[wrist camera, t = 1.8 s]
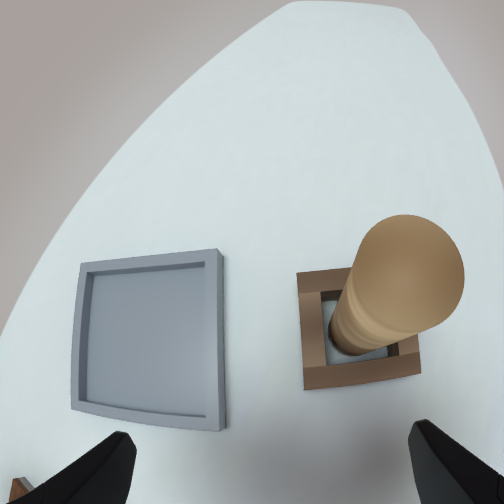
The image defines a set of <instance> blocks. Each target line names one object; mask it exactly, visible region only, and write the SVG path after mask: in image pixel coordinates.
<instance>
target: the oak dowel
mask: <svg viewBox="0 0 504 504" xmlns="http://www.w3.org/2000/svg"><path fill="white" fill-rule="evenodd" d="M463 288H464V267H463V262H462V259H461V255H460V253H459V251H458V249H457V247H456V245H455V243H454V242H453V240H452V239H451V238H450V236H449V235H448V234H447V233H446V232H445V231H444V230H443V229H442V228H440V227H439V226H438V225H436V224H435V223H433V222H431V221H429V220H427V219H425V218H422V217H419V216H414V215H397V216H392V217H389V218H386V219H384V220H382V221H380V222H379V223H377V224H376V225H375V226H373V227H372V228H371V229H370V230H369V232H368V233H367V234H366V235H365V237H364V238H363V240H362V242H361V244H360V247H359V250H358V252H357V255H356V258H355V260H354V263H353V266H352V268H351V271H350V273H349V276H348V278H347V281H346V283H345V286H344V288H343V291H342V293H341V296H340V298H339V301H338V303H337V305H336V308H335V310H334V313H333V315H332V317H331V320H330V322H329V326H328V337H329V340H330V342H331V344H332V346H333V347H334V348H335V349H336V350H337V351H338V352H340V353H341V354H344V355H347V356H359V355H362V354H365V353H368V352H371V351H374V350H376V349H379V348H382V347H385V346H387V345H390V344H393V343H395V342H398V341H400V340H403V339H405V338H408V337H410V336H413V335H415V334H418V333H420V332H422V331H425V330H427V329H429V328H432V327H434V326H436V325H438V324H440V323H441V322H443V321H444V320H446V319H447V318H448V317H449V316H450V315H451V314H452V312H453V311H454V310H455V308H456V307H457V305H458V303H459V301H460V299H461V296H462V293H463Z"/></svg>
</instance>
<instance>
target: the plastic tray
mask: <svg viewBox="0 0 504 504" xmlns="http://www.w3.org/2000/svg"><path fill="white" fill-rule="evenodd" d="M71 409H73V410H77V411H81V412H85V413H89V414H93V415H98V416H102V417H107V418H112V419H117V420H122V421H128V422H134V423H140V424H147V425H154V426H162V427H170V428H179V429H190V430H204V431H221V430H223V429H224V428H226V415H225V382H224V333H223V256H222V254H221V253H220V252H219V250H218V249H217V248H216V249H206V250H197V251H187V252H178V253H168V254H159V255H150V256H141V257H131V258H122V259H113V260H104V261H95V262H86V263H81V266H80V272H79V279H78V286H77V294H76V303H75V312H74V323H73V335H72V353H71Z"/></svg>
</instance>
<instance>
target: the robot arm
mask: <svg viewBox="0 0 504 504" xmlns="http://www.w3.org/2000/svg"><path fill="white" fill-rule="evenodd" d="M408 445H409V450H410V456H411V461H412V467H413V473H414V479H415V483H416V487H417V490H418V494H419V497H420V501H421V504H504V477H503V476H502V475H501V474H499V473H498V472H496V471H495V470H494V469H492V468H491V467H490V466H488V465H487V464H485V463H484V462H483V461H481V460H480V459H479V458H477V457H476V456H475V455H473V454H472V453H471V452H469V451H468V450H467V449H465V448H464V447H463V446H461V445H460V444H459V443H458V442H456V441H455V440H454V439H452V438H451V437H450V436H448V435H447V434H446V433H444V432H443V431H442V430H441V429H439V428H438V427H437V426H435V425H434V424H433V423H431V422H430V421H429V420H427V419H423V420H419V421H416V422H415V423H414V424H413V426H412V429H411V432H410V434H409V437H408ZM136 454H137V449H136V446H135V444H134V443H133V441H132V439H131V437H130V436H129V434H128V433H126V432H120V431H116V432H114V433H113V434H111V435H110V436H109V437H107V438H106V439H105V440H103V441H102V442H100V443H99V444H98V445H96V446H95V447H94V448H92V449H91V450H90V451H88V452H87V453H86V454H84V455H83V456H81V457H80V458H79V459H77V460H76V461H74V462H73V463H72V464H70V465H69V466H67V467H66V468H64V469H63V470H62V471H60V472H59V473H57V474H56V475H54V476H53V477H51V478H50V479H49V480H47V481H46V482H45V483H42V484H41V485H39V486H38V487H36V488H35V489H33V490H32V491H30V492H28V493H27V494H25V495H23V496H21V497H19V498H17V499H15V500H13V501H11V502H9V503H7V504H125V503H126V500H127V497H128V494H129V490H130V486H131V481H132V475H133V470H134V464H135V459H136Z"/></svg>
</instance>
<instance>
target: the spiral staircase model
mask: <svg viewBox="0 0 504 504" xmlns="http://www.w3.org/2000/svg"><path fill="white" fill-rule="evenodd" d="M33 489H35V488H34V487H33V486H32V485H31V484H30V483H29V482H28V480H27V479H26V478H25V477H22V478H15V479H13V481H12V486H11V492H10V498H9V502H11V501H13V500H15V499H17V498H19V497H21V496H23V495H25V494H27V493H28V492H30V491H32V490H33Z"/></svg>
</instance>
